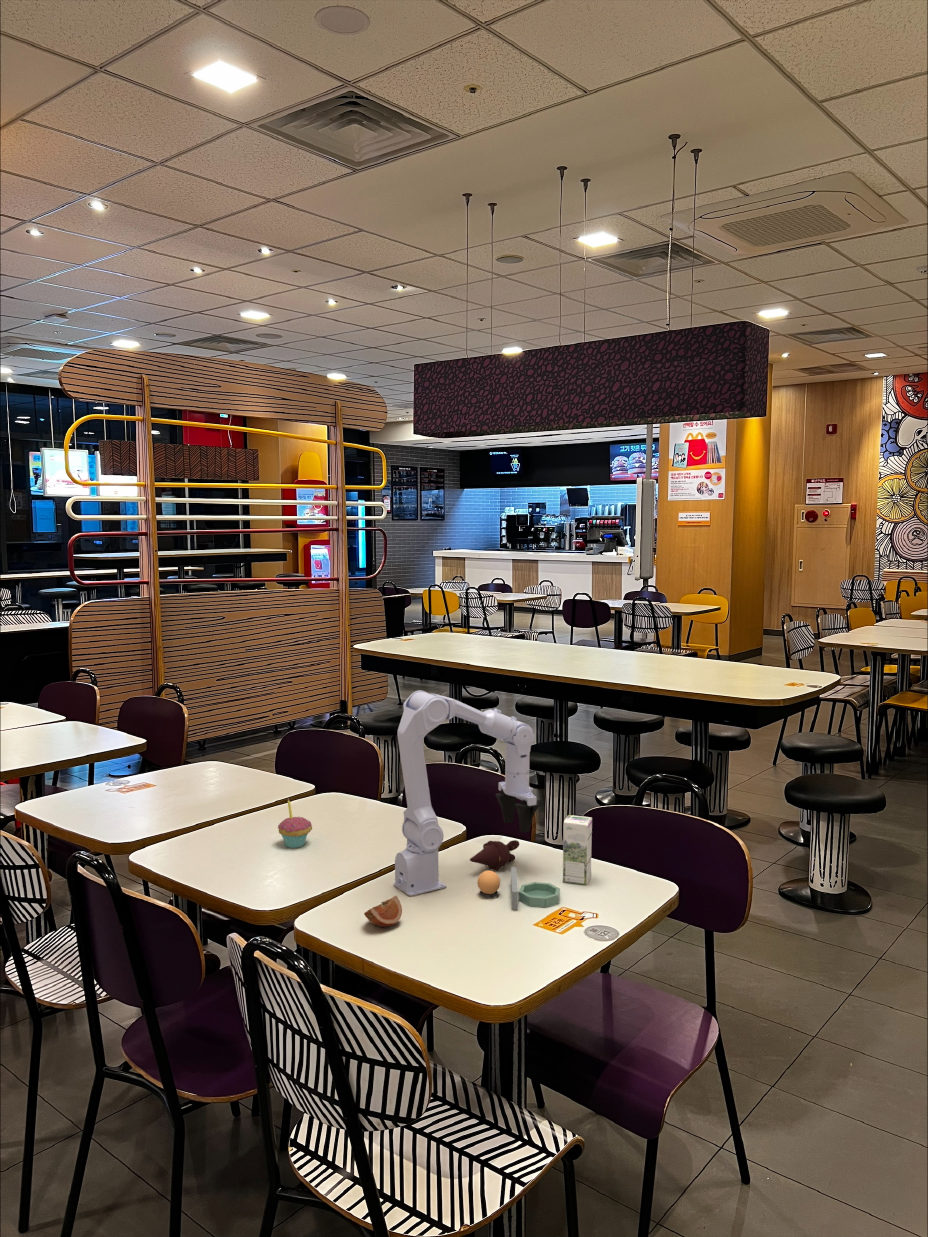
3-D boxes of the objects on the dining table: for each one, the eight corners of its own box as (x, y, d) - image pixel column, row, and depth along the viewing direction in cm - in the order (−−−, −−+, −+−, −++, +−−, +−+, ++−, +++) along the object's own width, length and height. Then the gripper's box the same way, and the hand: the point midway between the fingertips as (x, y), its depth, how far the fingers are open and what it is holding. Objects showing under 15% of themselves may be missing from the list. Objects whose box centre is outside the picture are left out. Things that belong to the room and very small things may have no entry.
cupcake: (271, 847, 224) (271, 801, 223) (290, 837, 232) (289, 792, 231) (300, 852, 221) (300, 805, 220) (318, 841, 229) (318, 796, 228)
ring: (486, 899, 193) (486, 896, 193) (476, 893, 196) (476, 890, 196) (501, 895, 195) (501, 892, 195) (491, 889, 198) (491, 887, 198)
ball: (485, 899, 192) (485, 877, 191) (473, 891, 196) (473, 870, 196) (504, 894, 195) (504, 872, 194) (491, 887, 199) (491, 865, 198)
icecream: (483, 854, 202) (530, 845, 212) (464, 838, 207) (510, 830, 217) (476, 881, 204) (523, 871, 213) (457, 864, 209) (503, 855, 219)
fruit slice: (380, 937, 175) (380, 912, 174) (356, 927, 179) (355, 904, 178) (408, 922, 181) (408, 899, 181) (384, 914, 185) (384, 891, 185)
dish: (535, 910, 187) (535, 901, 187) (512, 896, 194) (512, 887, 194) (567, 901, 192) (567, 892, 191) (543, 888, 199) (543, 879, 199)
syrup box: (591, 876, 206) (592, 816, 204) (586, 886, 200) (587, 824, 199) (567, 873, 208) (568, 813, 206) (562, 883, 202) (562, 821, 201)
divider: (517, 910, 187) (517, 891, 187) (511, 910, 187) (511, 891, 187) (516, 884, 201) (516, 867, 201) (510, 884, 201) (510, 867, 201)
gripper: (547, 776, 205) (547, 833, 206) (516, 762, 218) (515, 816, 219) (521, 780, 202) (521, 838, 203) (491, 765, 215) (490, 820, 216)
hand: (516, 827), depth 211 cm, fingers open, 7 cm apart
